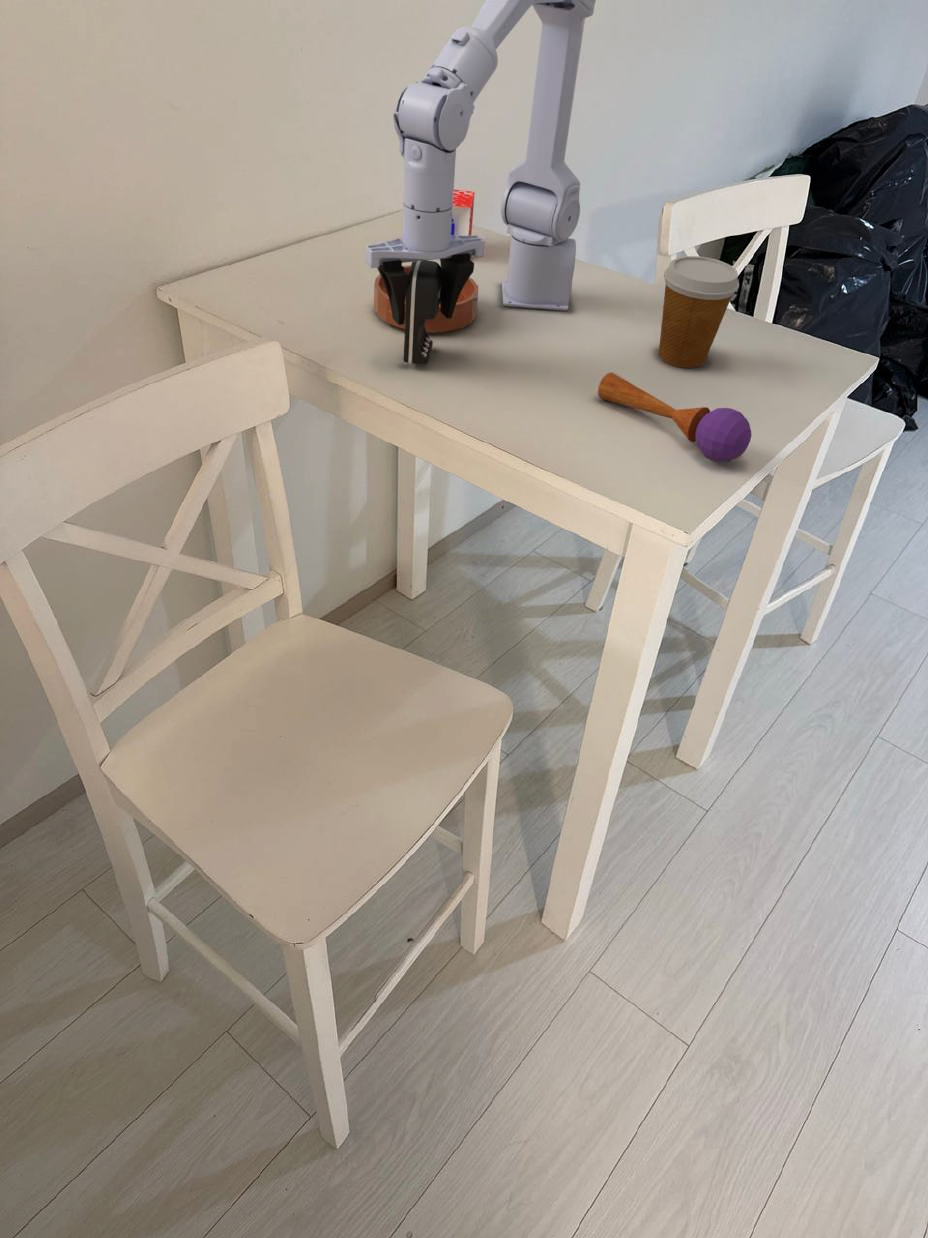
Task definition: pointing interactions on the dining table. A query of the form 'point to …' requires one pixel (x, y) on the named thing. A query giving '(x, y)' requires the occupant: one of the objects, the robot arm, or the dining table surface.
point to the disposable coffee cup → (694, 308)
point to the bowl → (440, 323)
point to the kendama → (687, 419)
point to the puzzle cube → (462, 213)
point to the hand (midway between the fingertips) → (422, 318)
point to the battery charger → (421, 309)
